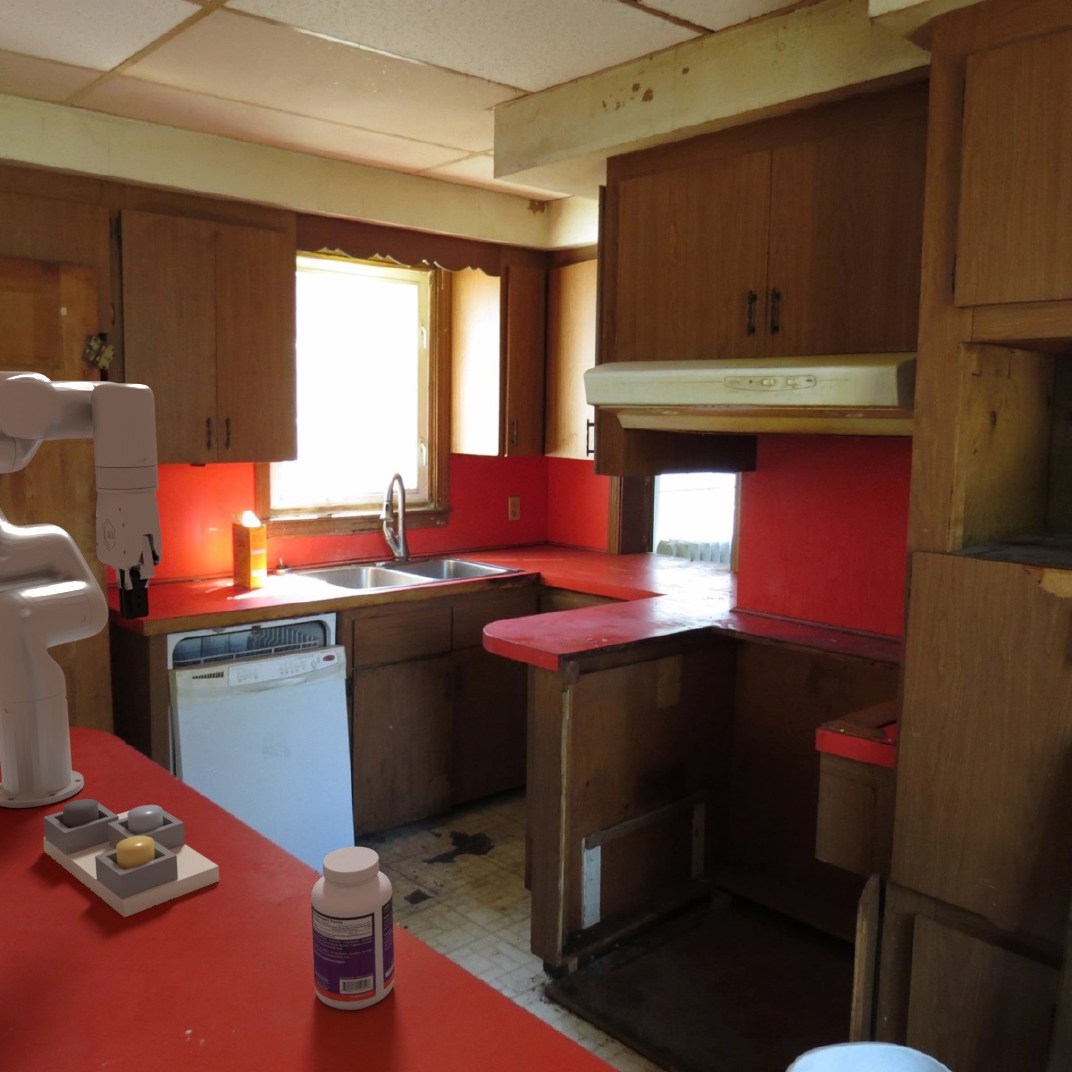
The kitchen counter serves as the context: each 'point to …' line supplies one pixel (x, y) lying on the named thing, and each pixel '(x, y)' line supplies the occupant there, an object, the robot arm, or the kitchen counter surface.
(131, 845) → the mustard button
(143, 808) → the slate button
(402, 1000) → the kitchen counter surface
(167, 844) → the console
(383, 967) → the pill bottle
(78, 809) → the charcoal button
